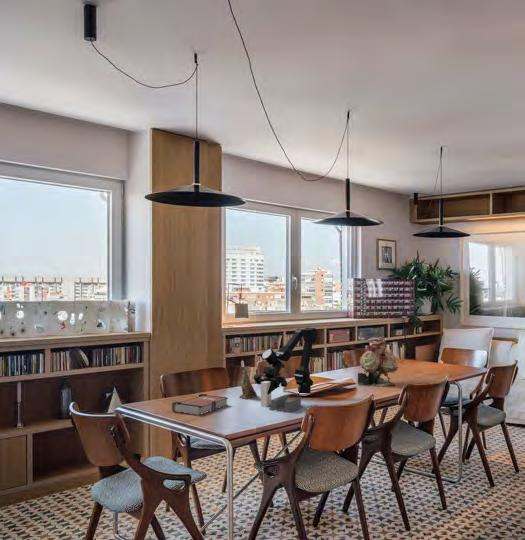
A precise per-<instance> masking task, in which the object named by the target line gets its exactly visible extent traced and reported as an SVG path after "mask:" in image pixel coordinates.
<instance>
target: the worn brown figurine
mask: <svg viewBox="0 0 525 540" xmlns="http://www.w3.org/2000/svg"><path fill="white" fill-rule="evenodd" d="M240 387H241V392H242V394H240V395H239V398H242V399H241V400H248V398H249V399H252V398H257V395H258V394H257V392H256V390H255V389H254V386H253V385H252V383H251V380H250V377H249V375H248V374H247V370H246V369H243V370H242V380H241V381H240Z"/></svg>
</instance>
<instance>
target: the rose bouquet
mask: <svg viewBox="0 0 525 540" xmlns="http://www.w3.org/2000/svg"><path fill="white" fill-rule="evenodd" d="M367 342H368V343H369V345H365V352H364V353H362V355H361V356H360V357H357V359H359V360H358V361H359V366H360V368H361V369H363V372H357V384H358V386H360V387H386V386H390V385H391V386H394V387H396V386H397V384H394V383H393V381H391V377H389V373H394V374H395V372H397V371H398V369H399V367H398V363H397V362H398V361H397V359H398V358H397V356H395V355H394V354H393V353H392V352H391V351H386V350H387V346H386V344H387V341H386V340H385V338H384V337H382V336H380V337H379V336H372V337H371V338H368V339H367ZM367 373H368V374H367ZM382 375H384V377H387V380H385V379H384V378H383V377H382Z"/></svg>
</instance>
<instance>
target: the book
mask: <svg viewBox="0 0 525 540" xmlns="http://www.w3.org/2000/svg"><path fill="white" fill-rule="evenodd" d="M228 399H229V397H225V396H216V395H208V394H207V393H200V394H198V396H196V397H193V398H190V399H187V400H184V401H173V402H171V409H172V410H171V411H179V412H186V413H193V414H201V413H204V412H206V411H210V410H213V411H216V410H217V409H216V408H218V409H220V408H219V407H221V408H223V407H222V406H224V407H226V406H225V405H227V406H228ZM215 409H216V410H215ZM210 412H211V411H210ZM204 414H205V413H204ZM201 415H202V414H201Z"/></svg>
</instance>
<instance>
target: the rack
mask: <svg viewBox="0 0 525 540" xmlns="http://www.w3.org/2000/svg"><path fill="white" fill-rule="evenodd" d="M301 401H302V397H293V398H290V399H288V396H287V395H281V396H279V397H278V396H277V397H276V398H273V399H272V398H271V405H270V407H269V408H268V409H269V411H273V410H277V411H276V412H281V411H285V412H284V413H289V412H290V413H292V411H293V412H294V411H297V410H300V409H301V408H303V405H302V402H301Z"/></svg>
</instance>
